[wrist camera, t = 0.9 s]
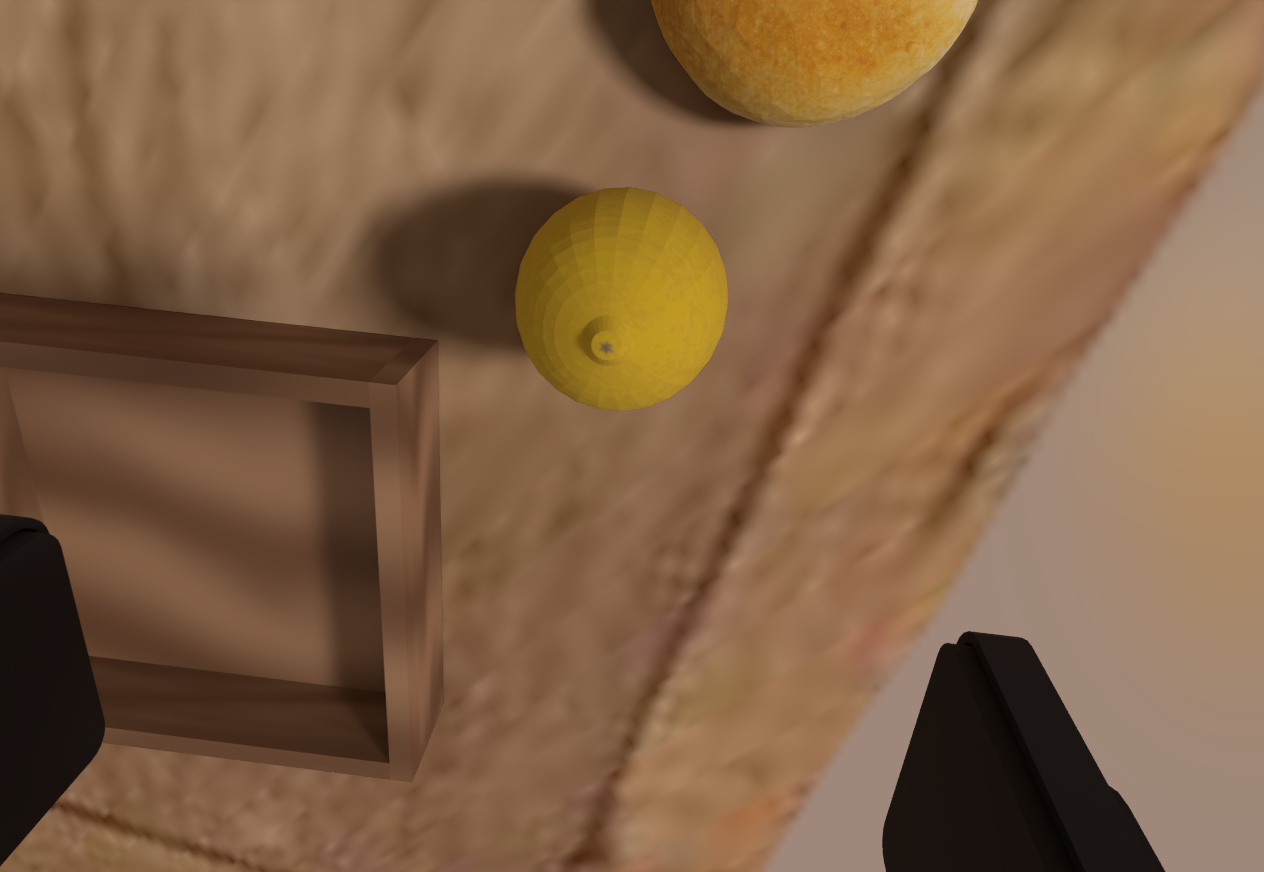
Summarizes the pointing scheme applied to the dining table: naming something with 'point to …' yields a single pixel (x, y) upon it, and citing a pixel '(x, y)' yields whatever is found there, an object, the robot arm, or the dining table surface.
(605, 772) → the dining table surface
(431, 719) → the bin
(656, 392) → the lemon
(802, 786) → the dining table surface
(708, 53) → the bread roll
